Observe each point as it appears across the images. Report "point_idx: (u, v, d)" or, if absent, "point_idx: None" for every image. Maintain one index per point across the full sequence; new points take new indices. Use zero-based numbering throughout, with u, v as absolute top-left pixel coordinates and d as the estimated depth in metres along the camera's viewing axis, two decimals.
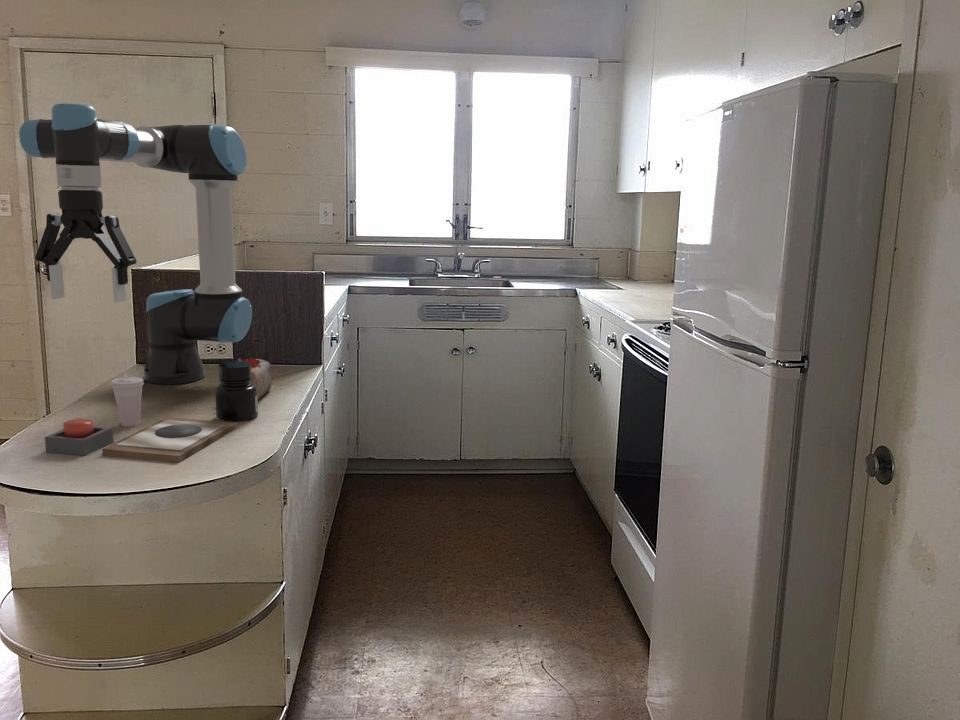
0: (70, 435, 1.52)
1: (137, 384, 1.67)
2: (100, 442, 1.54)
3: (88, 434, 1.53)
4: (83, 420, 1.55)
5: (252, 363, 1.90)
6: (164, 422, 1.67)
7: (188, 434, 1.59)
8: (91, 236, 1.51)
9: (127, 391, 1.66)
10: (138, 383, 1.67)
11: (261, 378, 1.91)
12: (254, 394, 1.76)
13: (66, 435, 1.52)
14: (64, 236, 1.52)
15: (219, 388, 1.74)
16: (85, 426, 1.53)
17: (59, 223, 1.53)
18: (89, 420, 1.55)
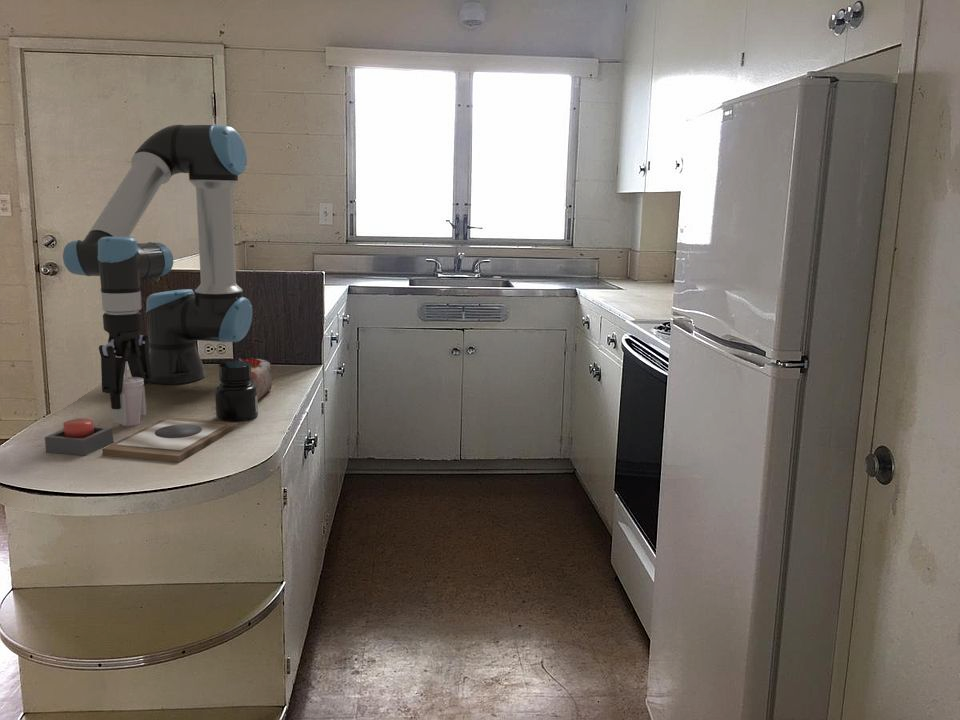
0: (70, 435, 1.52)
1: (137, 384, 1.67)
2: (100, 442, 1.54)
3: (88, 434, 1.53)
4: (83, 420, 1.55)
5: (253, 363, 1.90)
6: (164, 422, 1.67)
7: (188, 434, 1.59)
8: None
9: (127, 391, 1.66)
10: (138, 383, 1.67)
11: (262, 378, 1.91)
12: (254, 394, 1.76)
13: (66, 435, 1.52)
14: None
15: (219, 388, 1.74)
16: (85, 426, 1.53)
17: None
18: (89, 420, 1.55)
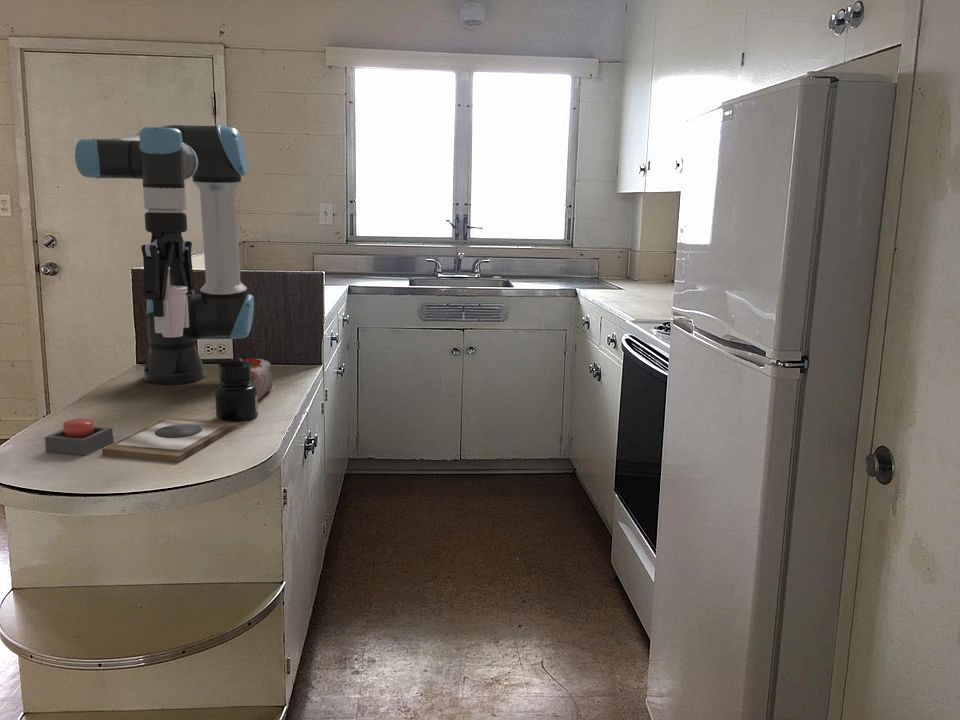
0: (70, 435, 1.52)
1: (181, 291, 1.54)
2: (100, 442, 1.54)
3: (88, 434, 1.53)
4: (83, 420, 1.55)
5: (253, 363, 1.91)
6: (164, 422, 1.67)
7: (188, 434, 1.59)
8: None
9: (170, 298, 1.53)
10: (182, 290, 1.54)
11: (263, 378, 1.91)
12: (254, 394, 1.76)
13: (66, 435, 1.52)
14: None
15: (219, 388, 1.74)
16: (85, 426, 1.53)
17: None
18: (89, 420, 1.55)
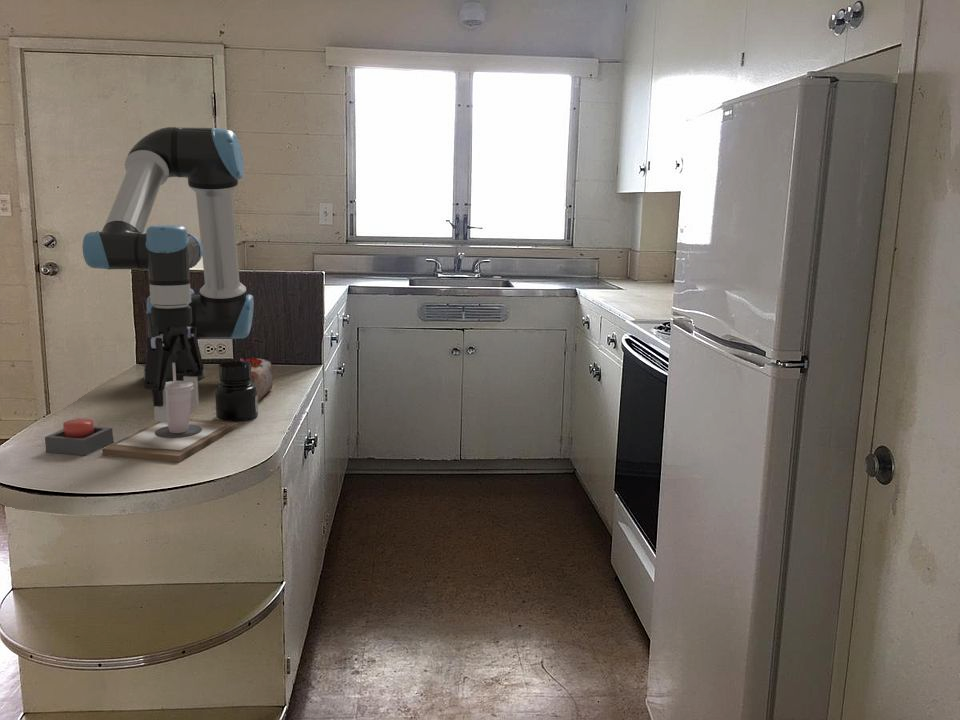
0: (70, 435, 1.52)
1: (187, 388, 1.59)
2: (100, 442, 1.54)
3: (88, 434, 1.53)
4: (83, 420, 1.55)
5: (254, 363, 1.91)
6: (164, 422, 1.67)
7: (188, 434, 1.59)
8: None
9: (177, 396, 1.58)
10: (188, 387, 1.59)
11: (263, 378, 1.91)
12: (254, 394, 1.76)
13: (66, 435, 1.52)
14: None
15: (219, 388, 1.74)
16: (85, 426, 1.53)
17: None
18: (89, 420, 1.55)
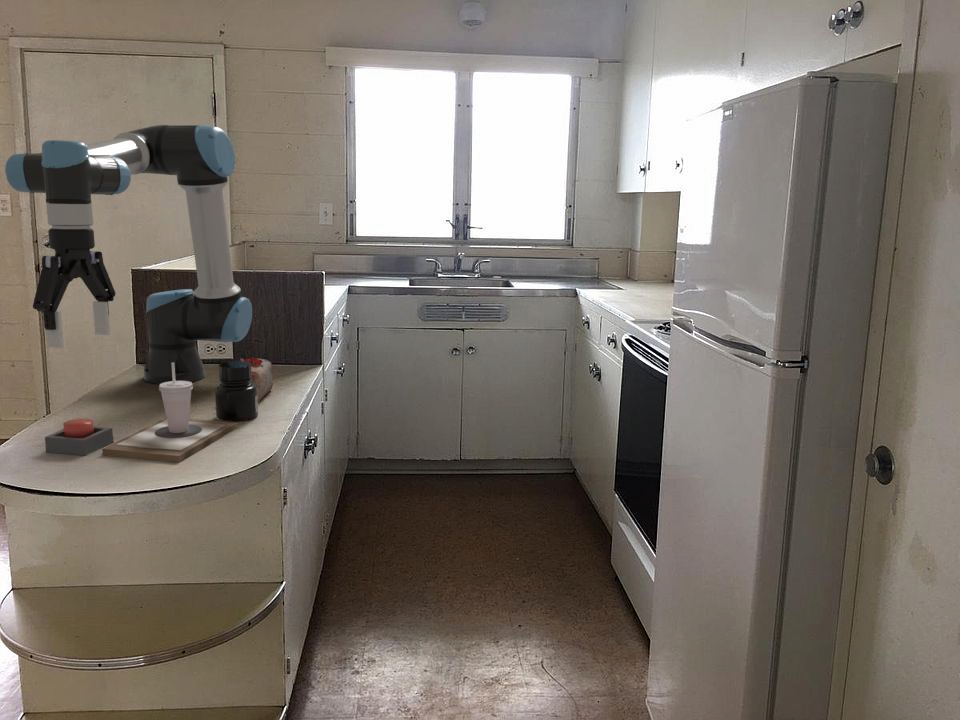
0: (70, 435, 1.52)
1: (187, 388, 1.59)
2: (100, 442, 1.54)
3: (88, 434, 1.53)
4: (83, 420, 1.55)
5: (255, 363, 1.91)
6: (164, 422, 1.67)
7: (188, 434, 1.59)
8: None
9: (176, 396, 1.58)
10: (188, 387, 1.59)
11: (264, 378, 1.91)
12: (254, 394, 1.76)
13: (66, 435, 1.52)
14: None
15: (219, 388, 1.74)
16: (85, 426, 1.53)
17: (90, 261, 1.53)
18: (89, 420, 1.55)
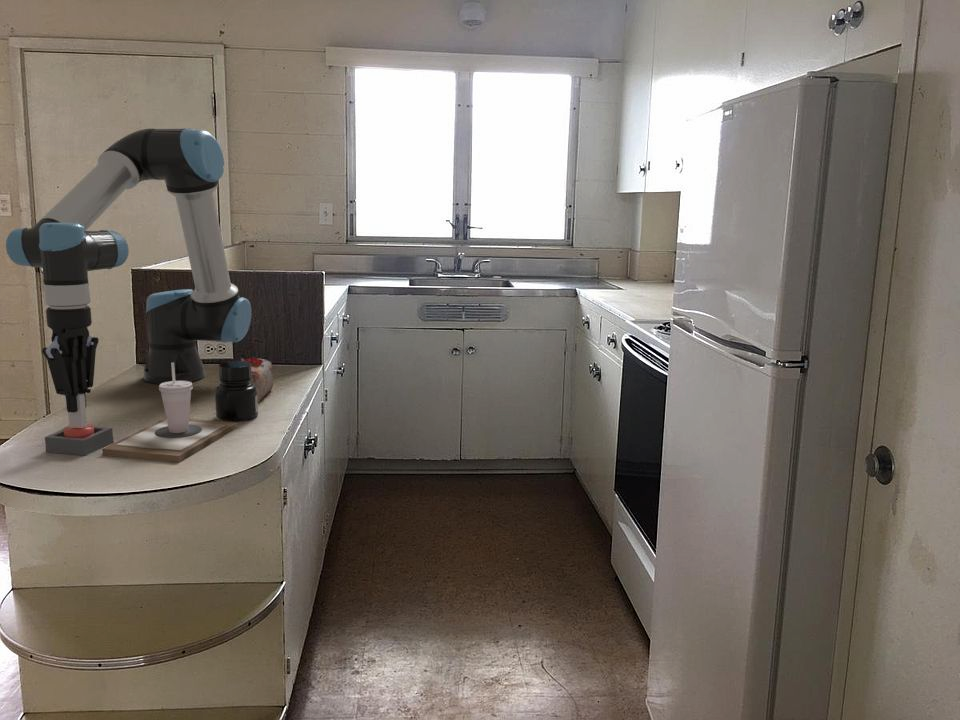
0: None
1: (187, 388, 1.59)
2: (100, 442, 1.54)
3: None
4: None
5: (255, 363, 1.91)
6: (164, 422, 1.67)
7: (188, 434, 1.59)
8: None
9: (176, 396, 1.58)
10: (188, 387, 1.59)
11: (264, 378, 1.92)
12: (254, 394, 1.76)
13: None
14: None
15: (219, 388, 1.74)
16: (85, 431, 1.53)
17: None
18: (89, 425, 1.56)
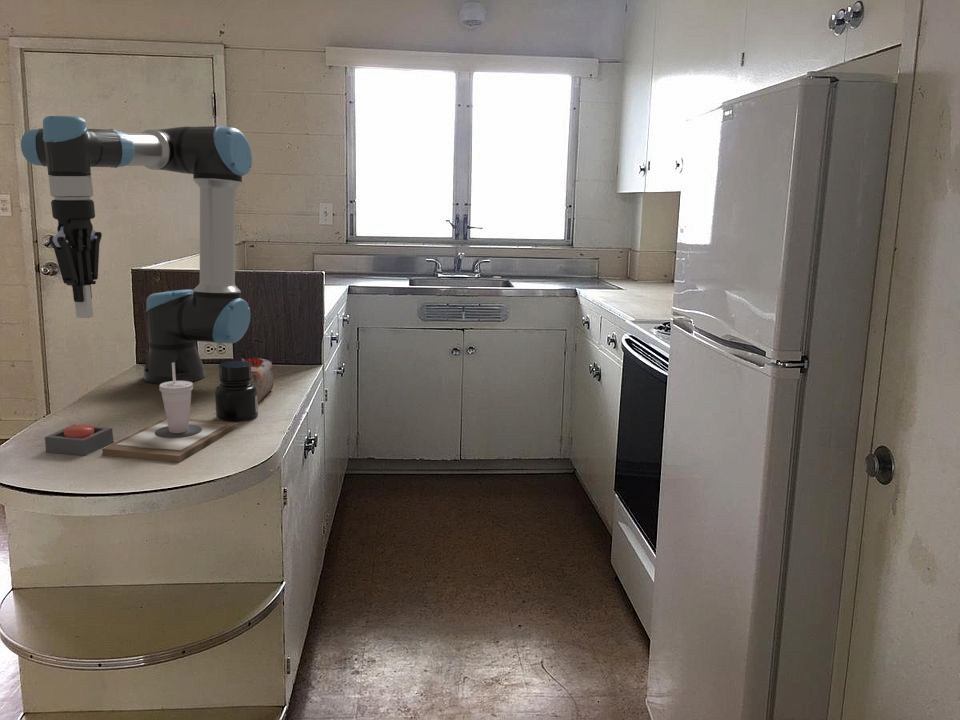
0: None
1: (187, 388, 1.59)
2: (100, 442, 1.54)
3: None
4: (83, 426, 1.56)
5: (256, 363, 1.91)
6: (164, 422, 1.67)
7: (188, 434, 1.59)
8: None
9: (177, 396, 1.58)
10: (188, 387, 1.59)
11: (265, 378, 1.92)
12: (254, 394, 1.76)
13: None
14: None
15: (219, 388, 1.74)
16: (86, 432, 1.53)
17: None
18: (89, 426, 1.56)
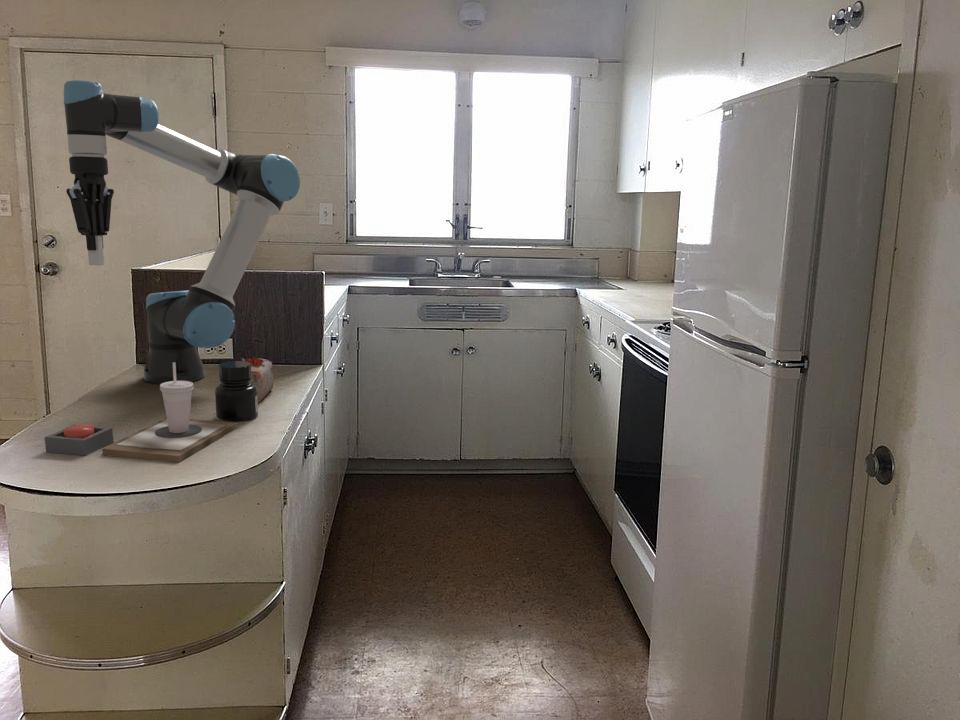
0: None
1: (188, 388, 1.59)
2: (100, 442, 1.54)
3: None
4: (83, 426, 1.56)
5: (256, 362, 1.91)
6: (164, 422, 1.67)
7: (188, 434, 1.59)
8: None
9: (177, 396, 1.58)
10: (189, 387, 1.59)
11: (265, 378, 1.92)
12: (254, 394, 1.76)
13: None
14: None
15: (219, 388, 1.74)
16: (86, 432, 1.53)
17: None
18: (89, 426, 1.56)
